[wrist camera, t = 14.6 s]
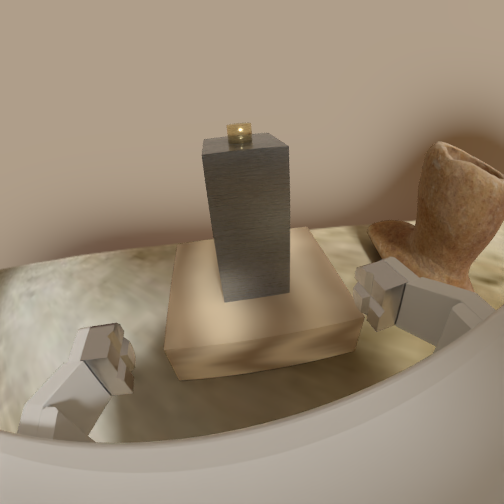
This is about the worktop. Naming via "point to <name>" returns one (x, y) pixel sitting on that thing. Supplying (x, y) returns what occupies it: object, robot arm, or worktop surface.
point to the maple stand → (256, 315)
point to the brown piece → (446, 217)
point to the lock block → (249, 211)
